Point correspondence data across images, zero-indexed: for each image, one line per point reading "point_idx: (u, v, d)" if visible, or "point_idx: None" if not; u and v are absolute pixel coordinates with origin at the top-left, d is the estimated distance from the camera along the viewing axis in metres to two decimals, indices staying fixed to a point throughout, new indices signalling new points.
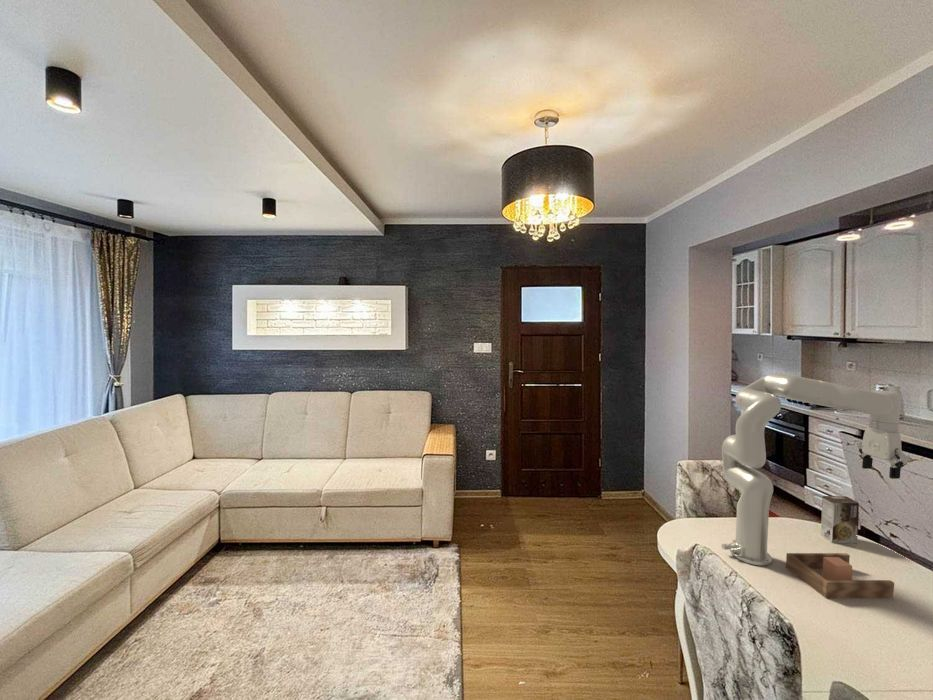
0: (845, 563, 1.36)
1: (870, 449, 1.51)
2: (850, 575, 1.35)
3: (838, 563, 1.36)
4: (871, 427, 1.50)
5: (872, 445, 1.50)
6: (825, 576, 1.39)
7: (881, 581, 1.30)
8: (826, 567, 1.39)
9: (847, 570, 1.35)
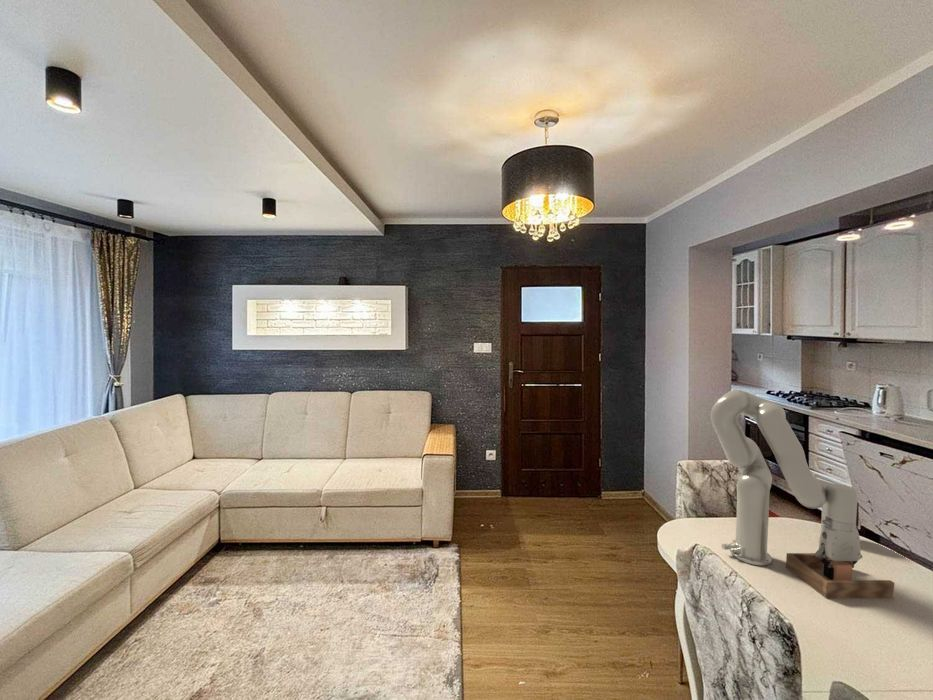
0: (845, 563, 1.36)
1: (842, 554, 1.34)
2: (850, 575, 1.35)
3: (839, 563, 1.36)
4: (847, 531, 1.33)
5: (844, 549, 1.34)
6: (825, 576, 1.39)
7: (881, 581, 1.30)
8: None
9: (847, 570, 1.35)
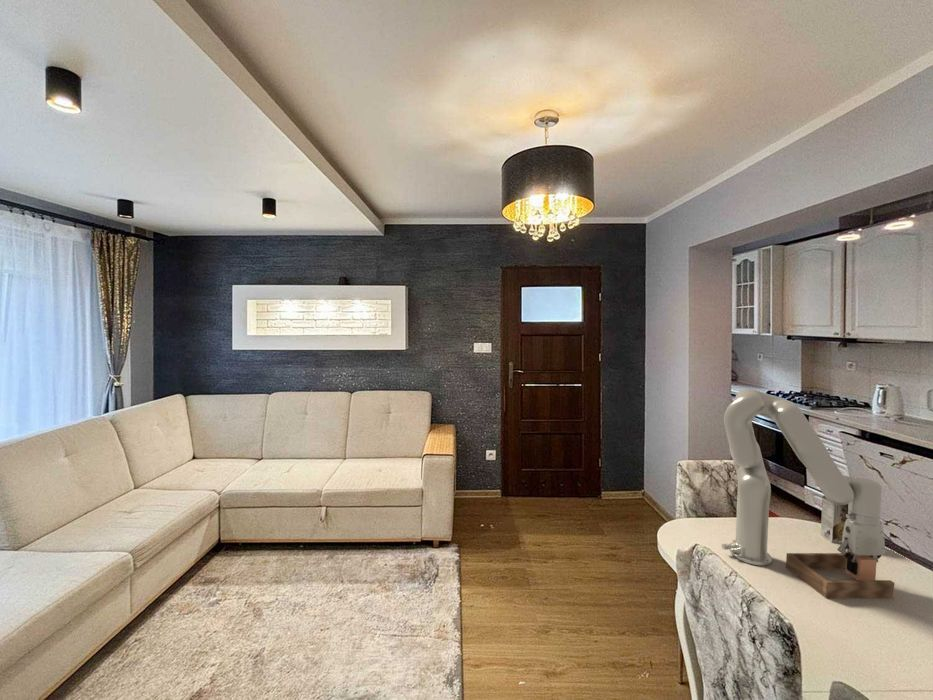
0: (869, 557, 1.36)
1: (866, 549, 1.34)
2: (874, 569, 1.35)
3: (862, 557, 1.36)
4: (872, 525, 1.33)
5: (868, 544, 1.34)
6: (849, 571, 1.39)
7: (881, 581, 1.30)
8: None
9: (871, 565, 1.35)
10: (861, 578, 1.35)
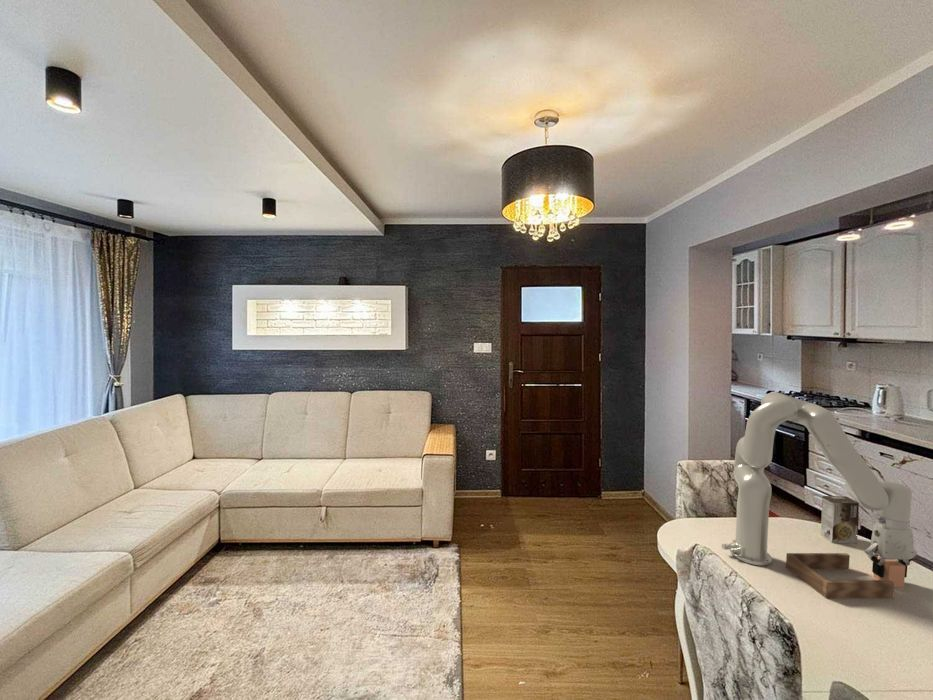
0: (898, 563, 1.36)
1: (895, 553, 1.34)
2: (903, 575, 1.35)
3: (891, 563, 1.36)
4: (902, 529, 1.33)
5: (897, 548, 1.34)
6: (877, 576, 1.39)
7: (881, 581, 1.30)
8: None
9: (900, 570, 1.35)
10: None
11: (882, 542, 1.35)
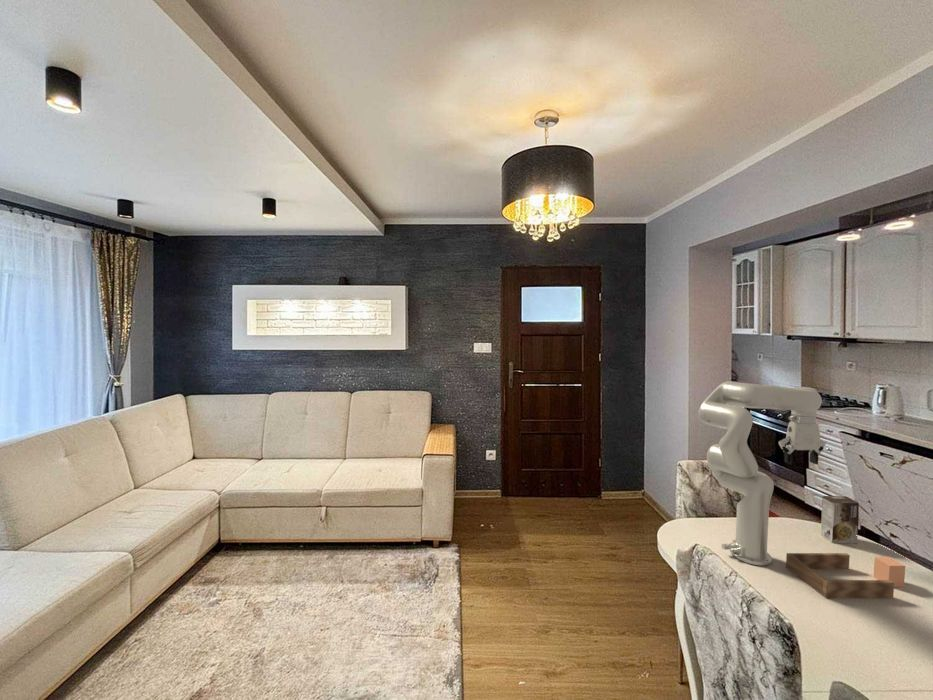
0: (898, 563, 1.36)
1: (804, 444, 1.59)
2: (903, 575, 1.35)
3: (891, 563, 1.36)
4: (809, 423, 1.58)
5: (806, 440, 1.59)
6: (877, 576, 1.39)
7: (881, 581, 1.30)
8: (878, 567, 1.39)
9: (900, 570, 1.35)
10: None
11: (793, 435, 1.60)
